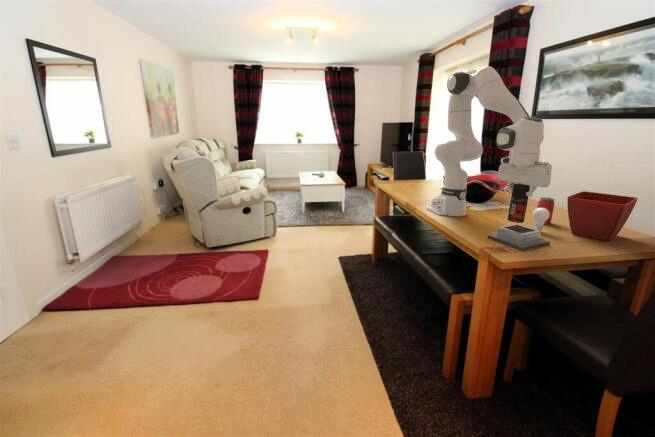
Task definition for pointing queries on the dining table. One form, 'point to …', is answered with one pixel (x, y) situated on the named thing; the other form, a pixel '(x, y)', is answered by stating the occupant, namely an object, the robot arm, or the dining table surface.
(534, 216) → the lightbulb
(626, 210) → the plant pot
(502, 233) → the collar holder
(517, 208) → the deodorant
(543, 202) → the beer can
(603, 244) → the dining table surface
